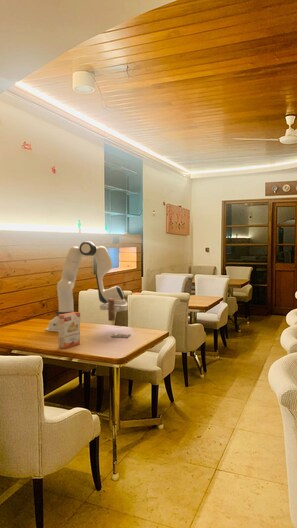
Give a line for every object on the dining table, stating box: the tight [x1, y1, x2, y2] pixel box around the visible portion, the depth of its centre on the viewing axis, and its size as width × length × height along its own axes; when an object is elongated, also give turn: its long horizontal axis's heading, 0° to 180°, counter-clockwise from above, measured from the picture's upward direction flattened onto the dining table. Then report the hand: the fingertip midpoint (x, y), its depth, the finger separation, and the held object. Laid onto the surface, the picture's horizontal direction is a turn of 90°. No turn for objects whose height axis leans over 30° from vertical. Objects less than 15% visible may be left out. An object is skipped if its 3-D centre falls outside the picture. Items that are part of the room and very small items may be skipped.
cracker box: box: [58, 311, 81, 350], centre depth 248 cm, size 14×6×21 cm, turn 146°
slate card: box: [110, 333, 131, 339], centre depth 274 cm, size 12×8×1 cm, turn 80°
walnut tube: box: [107, 298, 116, 322], centre depth 274 cm, size 5×5×15 cm
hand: (111, 309), depth 273 cm, fingers closed on walnut tube, 4 cm apart
